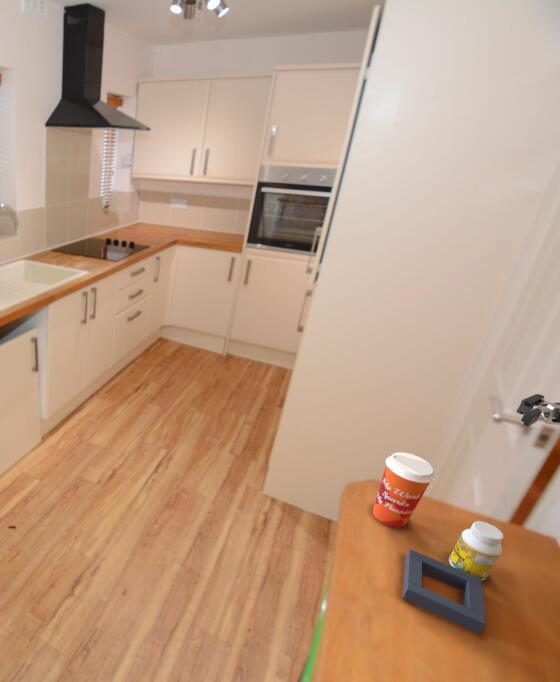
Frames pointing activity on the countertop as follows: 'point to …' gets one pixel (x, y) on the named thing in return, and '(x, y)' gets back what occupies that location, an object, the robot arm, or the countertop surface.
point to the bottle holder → (463, 615)
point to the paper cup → (402, 488)
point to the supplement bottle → (477, 549)
